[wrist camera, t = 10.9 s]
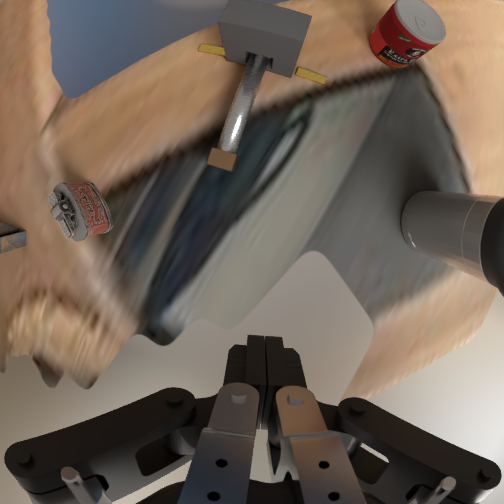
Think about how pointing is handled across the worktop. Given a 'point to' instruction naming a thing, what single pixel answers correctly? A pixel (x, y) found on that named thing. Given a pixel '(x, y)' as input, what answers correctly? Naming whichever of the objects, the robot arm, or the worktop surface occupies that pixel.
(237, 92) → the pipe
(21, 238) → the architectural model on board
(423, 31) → the canned food
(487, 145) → the worktop surface
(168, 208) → the worktop surface
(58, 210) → the lighter
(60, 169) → the worktop surface
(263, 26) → the block
